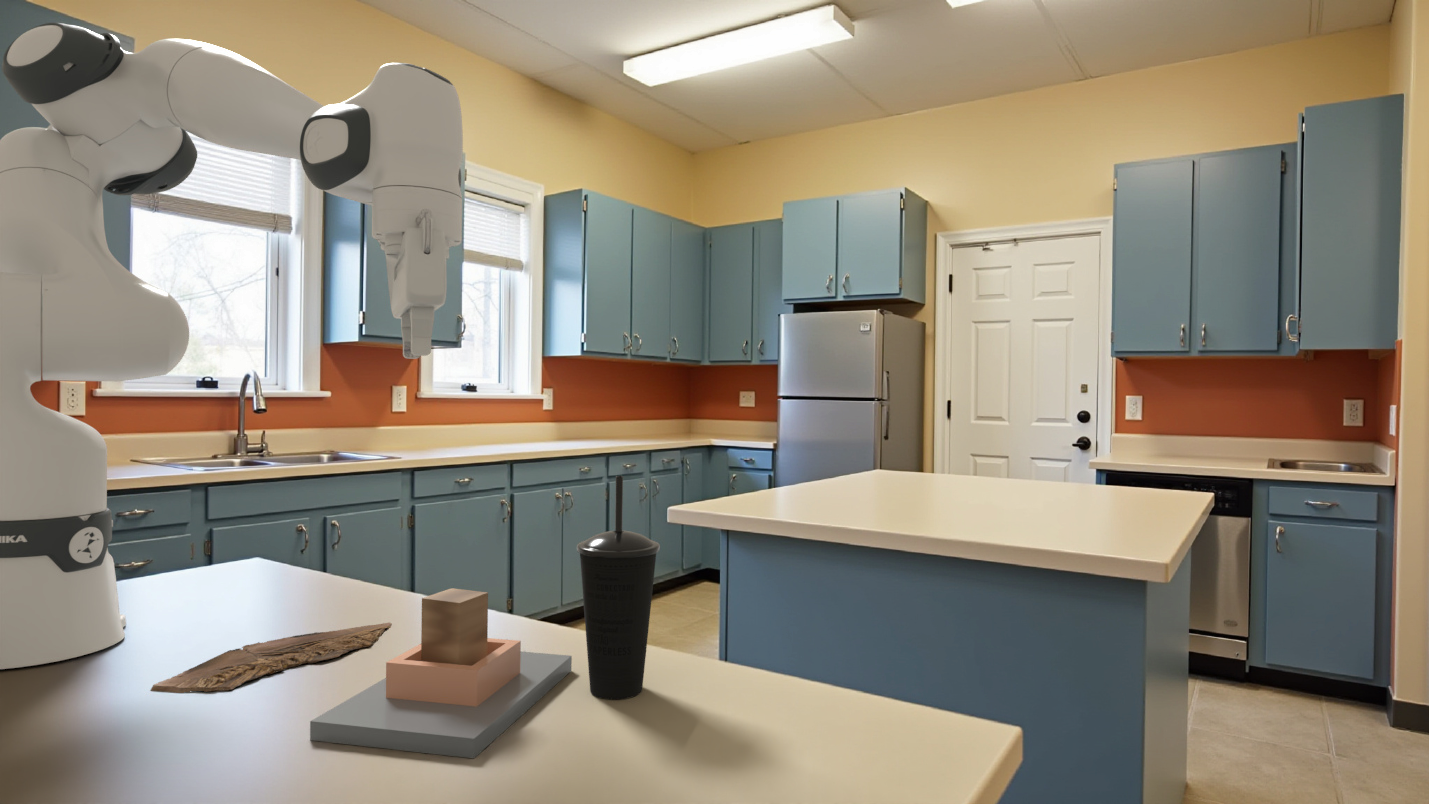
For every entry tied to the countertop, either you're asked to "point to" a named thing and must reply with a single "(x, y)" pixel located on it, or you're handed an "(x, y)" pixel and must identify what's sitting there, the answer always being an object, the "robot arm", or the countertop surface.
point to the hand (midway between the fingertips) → (416, 357)
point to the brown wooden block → (454, 627)
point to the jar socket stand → (444, 701)
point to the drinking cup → (617, 605)
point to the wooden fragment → (269, 659)
